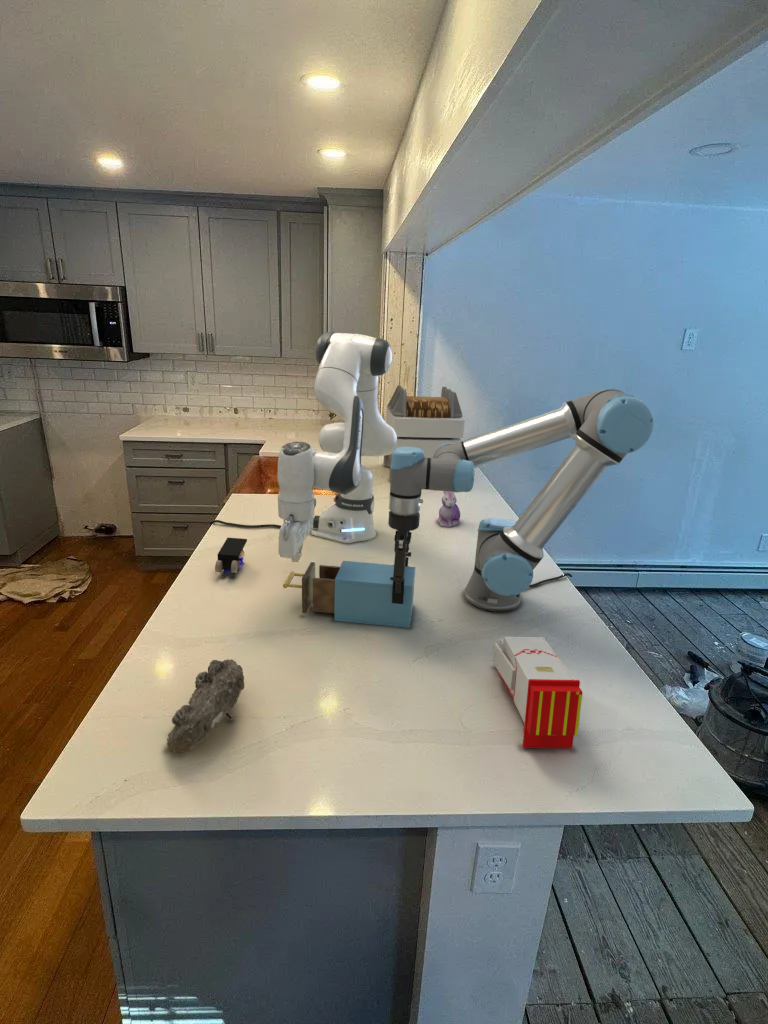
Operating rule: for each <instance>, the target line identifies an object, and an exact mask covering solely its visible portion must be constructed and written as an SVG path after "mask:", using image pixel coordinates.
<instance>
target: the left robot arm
mask: <svg viewBox="0 0 768 1024" xmlns="http://www.w3.org/2000/svg"><path fill="white" fill-rule="evenodd" d="M315 358H316V362H317V363H318V364H319V366H318V369H317V373H316V377H315V380H314V384H313V392H314V396H315V398H316V401H318V403H319V404H320V405H321V406H322V407H323V408H325V409H326V410H327V411H328V412H330V413H332V414H334V415H336V416H338V417H339V418H341V419H342V420H344V422H333V423H327V424H325V425H323V427H321V429H320V431H319V433H318V444H319V447H320V449H321V450H317V449H313V448H312V446H311V444H309V443H307V442H304V441H292V442H287V443H285V444H284V445H282V446H281V447H280V449H279V452H278V458H277V472H276V473H277V475H276V476H277V477H276V478H277V484H278V489H279V490H278V494H277V513H278V514H277V515H278V518H279V519H281V520H283V523H282V524H281V525H280V524H273V523H271V524H270V523H269V524H251V525H250V524H241V523H233V522H226V521H223V520H219V519H214V520H212V521H210V522H209V525H214V524H222V525H224V526H232V527H238V528H245V529H250V528H251V529H258V528H260V529H261V528H278V529H279V532H278V555H279V558H284V559H291V561H292V562H293V563H299V562H300V560H301V558H302V555H303V554H302V553H303V552H302V551H303V546H304V542H305V541H306V540H307V538H308V536H309V535H310V533H311V536H315V537H319V538H323V539H326V540H330V541H336V542H339V543H343V544H352V543H357V542H365V541H368V540H372V539H373V538H375V537H376V535H377V532H376V528H375V523H374V513H373V512H374V509H375V496H374V474H373V472H372V471H371V469H369V468H368V467H366V466H364V465H362V457H369V458H370V457H371V458H372V457H373V458H379V457H384V456H385V455H390V454H391V453H392V452H393V451H394V450H395V448H396V445H397V435H396V432H395V430H394V429H393V428H392V427H391V426H390V425H388V424H387V423H386V420H385V419H384V418H383V417H382V415H381V413H380V410H379V400H378V399H379V397H378V396H379V395H378V394H379V391H378V390H379V388H378V387H379V376H383V375H384V374H386V373H387V372H388V370H389V368H390V366H391V364H392V360H393V352H392V346H391V344H390V343H389V341H388V340H386V339H383V338H381V337H374V336H370V335H366V334H360V333H350V332H349V333H347V332H346V333H345V332H336V331H327V332H324V333H322V334H321V335H320V336H319V337H318V339H317V342H316V346H315ZM314 489H317V490H323V491H328V492H329V491H330V492H332V493H335V494H336V493H337V494H336V495H335V496H334V497H333V502H334V504H333V505H331V506H329V507H328V508H326V509H325V510H323V512H321V514H320V515H315V509H316V507H317V498H316V497H315V493H314Z"/></svg>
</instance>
